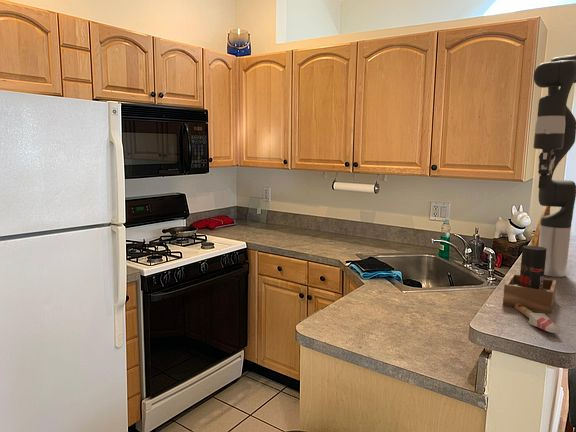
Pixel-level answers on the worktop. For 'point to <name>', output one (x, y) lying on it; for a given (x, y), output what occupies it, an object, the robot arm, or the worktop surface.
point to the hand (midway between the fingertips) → (544, 188)
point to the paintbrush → (538, 319)
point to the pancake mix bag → (537, 232)
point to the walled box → (529, 295)
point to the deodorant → (532, 267)
